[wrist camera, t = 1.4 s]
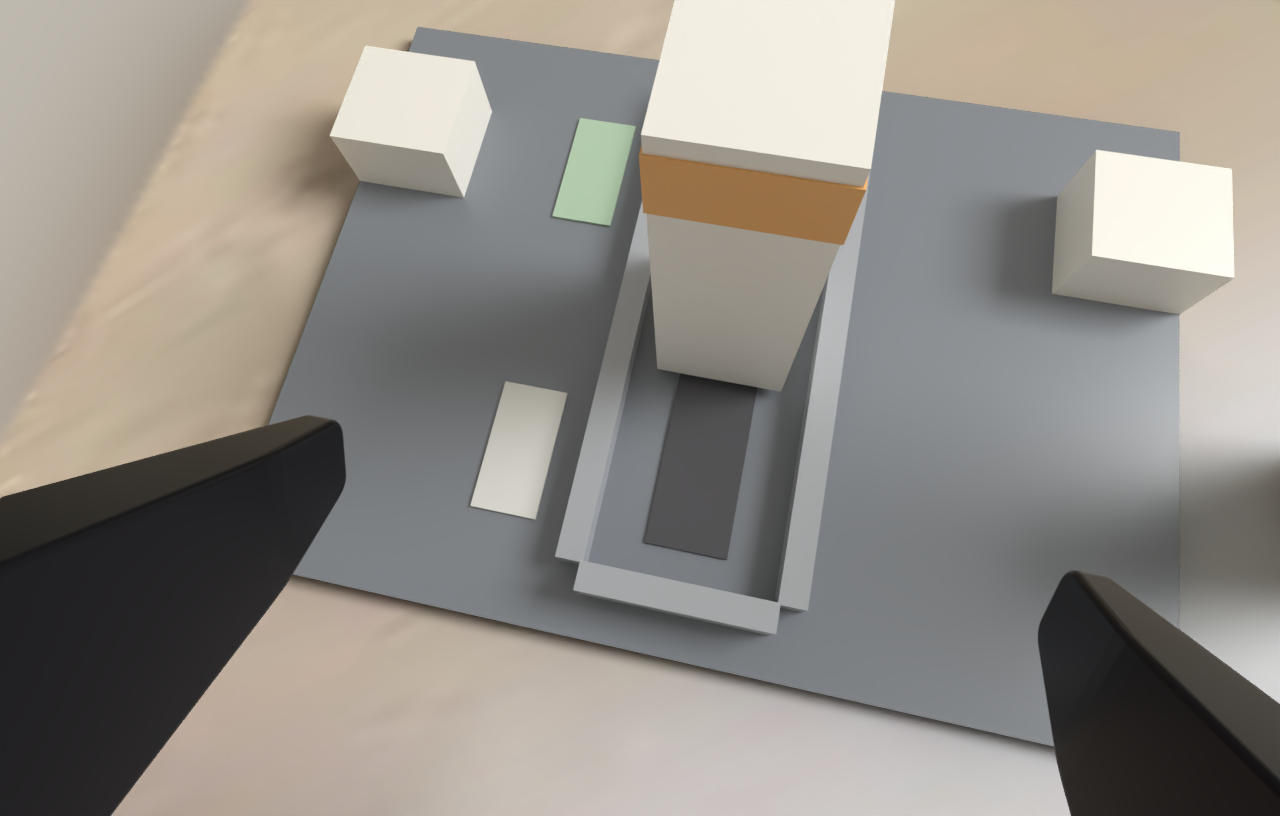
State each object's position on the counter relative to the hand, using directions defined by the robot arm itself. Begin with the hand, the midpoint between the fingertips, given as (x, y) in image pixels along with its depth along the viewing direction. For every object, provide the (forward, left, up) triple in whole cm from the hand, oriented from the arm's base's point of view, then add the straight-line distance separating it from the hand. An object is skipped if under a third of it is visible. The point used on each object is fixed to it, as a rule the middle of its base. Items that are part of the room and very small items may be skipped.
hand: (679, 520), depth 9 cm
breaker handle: (+8, 0, -12) cm, 15 cm away
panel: (+8, 0, -13) cm, 16 cm away
